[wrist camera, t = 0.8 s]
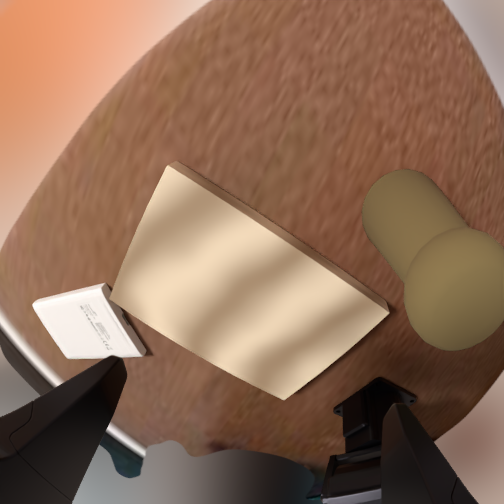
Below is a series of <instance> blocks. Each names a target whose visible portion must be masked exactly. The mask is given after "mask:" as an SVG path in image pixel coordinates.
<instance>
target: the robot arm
mask: <svg viewBox="0 0 504 504" xmlns="http://www.w3.org/2000/svg"><path fill="white" fill-rule="evenodd" d="M126 379H127V371H126V368H125V364H124V361H123V359H122V358H121V357H118V356H115V355H110V356H108V357H106V358H105V359H103V360H101V361H100V362H98V363H96V364H95V365H93V366H91V367H90V368H88V369H86V370H84V371H83V372H81V373H79V374H78V375H76V376H74V377H73V378H71V379H69V380H67V381H66V382H64V383H62V384H61V385H59V386H57V387H55V388H54V389H52V390H50V391H49V392H47V393H45V394H43V395H42V396H40V397H38V398H37V399H35V400H34V401H31V402H29V403H28V404H26V405H24V406H22V407H21V408H19V409H17V410H15V411H13V412H11V413H8V414H6V415H4V416H2V417H0V504H72V501H73V500H74V497H75V495H76V493H77V490H78V488H79V486H80V484H81V482H82V480H83V477H84V475H85V473H86V471H87V469H88V466H89V464H90V462H91V460H92V458H93V456H94V454H95V452H96V450H97V447H98V446H99V443H100V441H101V439H102V437H103V435H104V433H105V431H106V429H107V427H108V425H109V423H110V421H111V419H112V417H113V415H114V412H115V410H116V407H117V404H118V401H119V398H120V396H121V393H122V390H123V388H124V385H125V382H126ZM415 402H416V396H415V395H413V394H411V393H409V392H407V391H405V390H403V389H401V388H399V387H397V386H396V385H394V384H392V383H390V382H388V381H386V380H384V379H382V378H376V379H374V380H373V381H371V382H370V383H369V384H367V385H366V386H365V387H363V388H362V389H360V390H359V391H358V392H356V393H355V394H353V395H352V396H350V397H349V398H347V399H346V400H345V401H343V402H342V403H340V404H339V405H337V406H336V407H334V409H333V412H334V413H335V414H337V415H339V416H342V417H343V437H345V450H346V453H345V454H340V455H331V456H330V459H329V463H328V466H327V471H326V475H325V479H324V484H323V488H322V492H321V501H322V502H323V504H478V502H477V501H476V500H475V499H474V497H473V496H472V495H471V494H470V492H469V491H468V490H467V488H466V487H465V486H464V484H463V483H462V482H461V480H460V478H459V477H457V475H456V473H455V471H454V470H453V469H452V467H451V466H450V464H449V463H448V462H447V460H446V459H445V457H444V456H443V454H442V453H441V452H440V450H439V449H438V447H437V446H436V445H435V443H434V442H433V440H432V439H431V438H430V436H429V435H428V433H427V432H426V431H425V429H424V428H423V427H422V425H421V424H420V422H419V421H418V420H417V418H416V417H415V416H414V414H413V413H412V411H411V410H410V409H409V406H410V405H412V404H413V403H415Z"/></svg>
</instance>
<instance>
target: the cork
mask: <svg viewBox="0 0 504 504" xmlns="http://www.w3.org/2000/svg"><path fill="white" fill-rule="evenodd" d="M362 223H363V227H364V229H365V232H366V234H367V237H368V238H369V239H370V241H371V242H372V243H373V244H374V246H375V247H376V248H377V249H378V251H379V252H380V253H381V254H382V256H383V257H384V258H385V259H386V261H387V262H388V263H389V264H390V266H391V267H392V268H393V270H394V271H395V272H396V274H397V275H398V276H399V278H400V279H401V280H402V281H403V283H404V305H405V308H406V312H407V315H408V318H409V321H410V324H411V326H412V327H413V329H414V330H415V331H416V332H417V333H418V334H419V336H420V337H421V338H422V339H423V340H424V341H425V342H426V343H428V344H430V345H432V346H434V347H437V348H439V349H441V350H446V351H458V350H463V349H467V348H470V347H472V346H474V345H476V344H478V343H480V342H482V341H483V340H485V339H486V338H487V337H489V336H490V335H491V334H492V333H494V332H495V331H496V329H497V328H498V327H499V326H500V325H501V324H502V322H503V321H504V247H503V246H501V245H500V244H499V243H498V242H497V241H496V240H495V239H494V238H492V237H491V236H490V235H489V234H488V233H485V232H482V231H479V230H476V229H472V228H469V227H468V225H467V224H466V223H465V221H464V220H463V219H462V217H461V216H460V214H459V213H458V212H457V210H456V209H455V208H454V207H453V205H452V204H451V203H450V201H449V200H448V199H447V198H446V196H445V195H444V194H443V192H442V191H441V190H440V189H439V188H438V186H437V185H436V184H435V183H434V181H433V180H432V179H430V178H429V177H427V176H426V175H424V174H423V173H421V172H418V171H414V170H410V169H405V170H395V171H393V172H391V173H388V174H386V175H384V176H382V177H381V178H380V179H379V180H378V181H377V182H376V183H374V184H373V185H372V187H371V188H370V190H369V192H368V193H367V195H366V197H365V199H364V204H363V208H362Z"/></svg>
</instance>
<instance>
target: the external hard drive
mask: <svg viewBox="0 0 504 504" xmlns="http://www.w3.org/2000/svg"><path fill="white" fill-rule="evenodd" d="M110 295H111V291H110V289H109V287H108V286H107V284H106V283H102V284H98V285H95V286H90V287H86V288H82V289H78V290H74V291H70V292H66V293H62V294H58V295H54V296H49V297H45V298H41V299H37V300H36V301H35V302H34V303H33V308H34V310H35V312H36V313H37V315H38V316H39V318H40V320H41V321H42V323H43V324H44V326H45V327H46V329H47V330H48V332H49V333H50V335H51V336H52V338H53V339H54V341H55V342H56V344H57V345H58V346H59V348H60V349H61V351H62V352H63V353H64V355H65V356H66V357H67V358H68V359H95V358H106V357H108V356H110V355H115V356H118V357H121V358H122V357H141V356H144V355H145V353H146V351H147V350H146V349H145V347H144V346H143V344H142V343H141V341H140V339H139V338H138V336H137V335H136V333H135V332H134V330H133V328H132V327H131V325H130V324H129V323H128V321H127V320H126V318H125V316H124V315H123V312H122V310H121V308H120V307H119V305H117V304H116V303H114V302H113V301H111V300H110V299H109V298H110Z"/></svg>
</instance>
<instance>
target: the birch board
mask: <svg viewBox="0 0 504 504" xmlns="http://www.w3.org/2000/svg"><path fill="white" fill-rule="evenodd" d="M109 299H110V300H111V301H113V302H114V303H116V304H117V305H119V306H120V307H122V308H123V309H124V310H126V311H127V312H129V313H130V314H132V315H133V316H135V317H136V318H138V319H139V320H141V321H142V322H144V323H146V324H147V325H149V326H150V327H152V328H153V329H155V330H157V331H158V332H160V333H161V334H163V335H165V336H166V337H168V338H169V339H171V340H173V341H174V342H176V343H178V344H179V345H181V346H183V347H184V348H186V349H188V350H189V351H191V352H193V353H195V354H196V355H198V356H200V357H201V358H203V359H205V360H207V361H209V362H210V363H212V364H214V365H216V366H218V367H219V368H221V369H223V370H225V371H227V372H229V373H231V374H232V375H234V376H236V377H238V378H240V379H242V380H244V381H246V382H248V383H250V384H252V385H254V386H256V387H258V388H260V389H262V390H264V391H266V392H268V393H270V394H272V395H274V396H276V397H278V398H280V399H283V400H285V399H286V398H288V397H289V396H290V395H292V394H293V393H295V392H296V391H297V390H299V389H300V388H301V387H303V386H304V385H305V384H307V383H308V382H309V381H311V380H312V379H313V378H314V377H316V376H317V375H318V374H319V373H321V372H322V371H323V370H325V369H326V368H327V367H328V366H330V365H331V364H332V363H333V362H334V361H336V360H337V359H338V358H339V357H340V356H342V355H343V354H344V353H345V352H346V351H348V350H349V349H350V348H351V347H352V346H353V345H355V344H356V343H357V342H358V341H359V340H360V339H361V338H363V337H364V336H365V335H366V334H367V333H368V332H369V331H370V330H372V329H373V328H374V327H375V326H376V325H377V324H378V323H379V322H380V321H381V320H382V319H384V318H385V317H386V316H387V315H388V314H389V313H390V312H389V309H388V306H387V303H386V301H385V300H384V299H383V298H381V297H380V296H378V295H377V294H376V293H374V292H373V291H371V290H370V289H369V288H367V287H366V286H364V285H363V284H362V283H360V282H359V281H357V280H356V279H355V278H353V277H352V276H350V275H349V274H347V273H346V272H345V271H343V270H342V269H340V268H339V267H337V266H336V265H335V264H333V263H332V262H330V261H329V260H327V259H326V258H325V257H323V256H322V255H320V254H319V253H317V252H316V251H314V250H313V249H311V248H310V247H309V246H307V245H306V244H304V243H303V242H301V241H300V240H298V239H297V238H295V237H294V236H292V235H291V234H289V233H288V232H286V231H285V230H283V229H282V228H280V227H279V226H277V225H276V224H274V223H273V222H271V221H270V220H268V219H267V218H265V217H264V216H262V215H261V214H259V213H258V212H256V211H255V210H253V209H252V208H250V207H249V206H247V205H246V204H244V203H243V202H241V201H239V200H238V199H236V198H235V197H233V196H232V195H230V194H229V193H227V192H226V191H224V190H222V189H221V188H219V187H218V186H216V185H215V184H213V183H212V182H210V181H208V180H207V179H205V178H204V177H202V176H200V175H199V174H197V173H196V172H194V171H193V170H191V169H189V168H188V167H186V166H185V165H183V164H181V163H180V162H178V161H175V162H173V163H171V164H169V165H167V167H166V169H165V171H164V173H163V175H162V177H161V179H160V181H159V183H158V185H157V187H156V189H155V192H154V194H153V196H152V198H151V200H150V202H149V204H148V206H147V208H146V211H145V213H144V215H143V217H142V219H141V222H140V224H139V226H138V228H137V231H136V233H135V235H134V237H133V240H132V242H131V245H130V247H129V249H128V252H127V254H126V257H125V259H124V261H123V264H122V266H121V269H120V271H119V274H118V277H117V279H116V282H115V284H114V287H113V290H112V292H111V295H110V298H109Z"/></svg>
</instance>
